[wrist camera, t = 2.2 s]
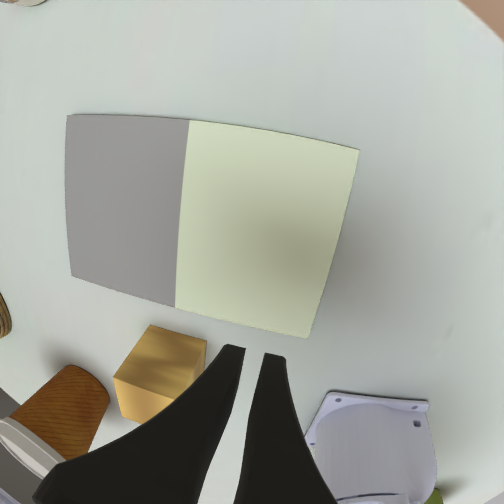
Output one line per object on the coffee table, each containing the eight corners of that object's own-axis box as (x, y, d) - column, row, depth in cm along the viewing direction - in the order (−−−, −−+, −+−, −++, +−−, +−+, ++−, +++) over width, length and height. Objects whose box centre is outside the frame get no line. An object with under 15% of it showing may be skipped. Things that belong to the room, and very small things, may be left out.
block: (206, 340, 22) (178, 400, 17) (203, 380, 24) (179, 437, 19) (150, 324, 22) (112, 377, 17) (152, 364, 24) (122, 416, 19)
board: (358, 149, 15) (359, 150, 15) (308, 333, 20) (307, 338, 20) (72, 114, 17) (67, 115, 16) (76, 272, 22) (71, 275, 21)
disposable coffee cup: (44, 340, 27) (-23, 412, 16) (116, 373, 26) (53, 469, 15) (63, 395, 31) (15, 461, 20) (128, 425, 30) (84, 505, 19)
